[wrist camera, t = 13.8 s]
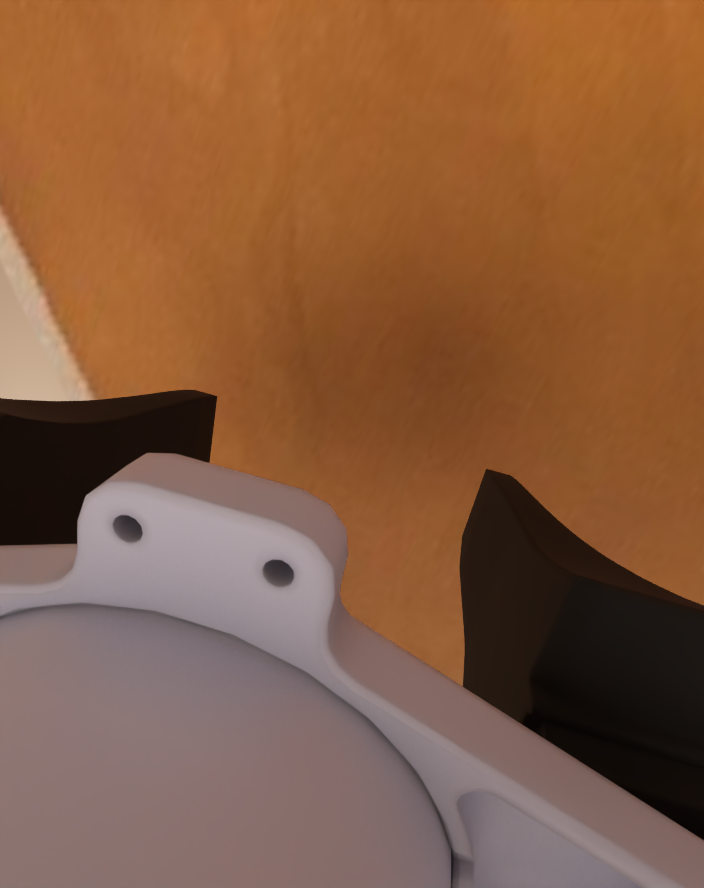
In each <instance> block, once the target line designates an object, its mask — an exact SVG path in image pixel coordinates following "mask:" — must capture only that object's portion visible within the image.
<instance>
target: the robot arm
mask: <svg viewBox="0 0 704 888" xmlns="http://www.w3.org/2000/svg"><path fill="white" fill-rule="evenodd" d="M216 402H217V396H215V395H211V394H207V393H204V392H200V391H196V390H177V391H168V392H161V393H153V394H146V395H139V396H131V397H121V398H112V399H103V400H90V401H32V400H13V399H1V398H0V888H704V606H703V605H701V604H698V603H696V602H693V601H690V600H688V599H685V598H683V597H681V596H678V595H676V594H674V593H672V592H670V591H668V590H666V589H664V588H661V587H659V586H657V585H655V584H653V583H651V582H649V581H647V580H645V579H643V578H641V577H639V576H638V575H636V574H634V573H632V572H630V571H629V570H627V569H625V568H624V567H622V566H620V565H618V564H617V563H615V562H613V561H612V560H610V559H609V558H607V557H605V556H604V555H602V554H601V553H599V552H598V551H597V550H595V549H594V548H592V547H591V546H590V545H588V544H587V543H585V542H584V541H583V540H581V539H580V538H579V537H577V536H576V535H575V534H573V533H572V532H571V531H570V530H569V529H568V528H566V527H565V526H564V525H563V524H562V523H561V522H559V521H558V520H557V519H556V518H555V517H554V516H553V515H552V514H551V513H550V512H549V511H547V510H546V509H545V508H544V507H543V506H542V505H541V504H540V503H539V502H538V501H537V500H536V499H535V498H534V497H533V496H532V495H531V494H530V493H529V492H528V491H527V490H526V489H525V488H524V487H523V486H522V485H521V484H520V483H519V482H518V481H517V480H516V479H515V478H513V477H512V476H510V475H507V474H503V473H499V472H496V471H492V470H488V469H486V471H485V474H484V477H483V480H482V482H481V485H480V488H479V491H478V494H477V496H476V499H475V502H474V505H473V508H472V510H471V513H470V516H469V519H468V522H467V524H466V527H465V530H464V533H463V536H462V545H461V556H460V581H461V595H462V609H463V622H464V636H465V659H464V678H463V687H462V686H461V685H459V684H458V683H456V682H455V681H453V680H451V679H450V678H448V677H447V676H445V675H444V674H442V673H440V672H439V671H437V670H436V669H434V668H433V667H431V666H429V665H428V664H426V663H425V662H423V661H422V660H420V659H418V658H417V657H415V656H414V655H412V654H411V653H409V652H407V651H406V650H404V649H403V648H401V647H400V646H398V645H396V644H395V643H393V642H392V641H390V640H389V639H387V638H386V637H384V636H382V635H381V634H379V633H378V632H376V631H375V630H373V629H371V628H370V627H368V626H367V625H365V624H364V623H362V622H360V621H359V620H357V619H356V618H354V617H353V616H351V615H350V614H349V613H348V612H347V610H346V609H345V607H344V606H343V604H342V602H341V597H340V589H341V581H342V577H343V573H344V569H345V565H346V561H347V557H348V548H347V530H346V528H345V526H344V525H343V523H342V522H341V520H340V519H339V517H338V516H337V514H336V513H335V512H334V510H333V509H332V507H331V506H330V504H328V503H326V502H324V501H323V500H321V499H319V498H317V497H315V496H314V495H312V494H310V493H308V492H306V491H304V490H303V489H300V488H296V487H293V486H289V485H286V484H282V483H279V482H275V481H271V480H268V479H264V478H261V477H257V476H254V475H250V474H247V473H243V472H239V471H236V470H232V469H229V468H225V467H222V466H218V465H214V464H211V463H209V461H210V453H211V444H212V436H213V427H214V419H215V410H216Z"/></svg>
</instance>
